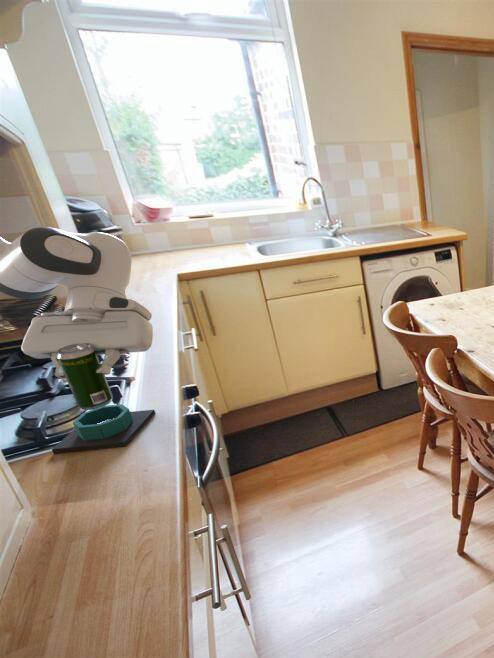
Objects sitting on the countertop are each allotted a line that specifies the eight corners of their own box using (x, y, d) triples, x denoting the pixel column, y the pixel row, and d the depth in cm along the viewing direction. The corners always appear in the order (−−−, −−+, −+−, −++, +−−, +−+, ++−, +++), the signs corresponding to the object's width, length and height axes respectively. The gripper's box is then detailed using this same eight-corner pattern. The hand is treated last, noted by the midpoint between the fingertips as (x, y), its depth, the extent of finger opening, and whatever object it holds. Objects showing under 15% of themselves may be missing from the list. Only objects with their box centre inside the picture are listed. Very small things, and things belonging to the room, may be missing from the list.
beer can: (120, 399, 93) (100, 344, 88) (90, 413, 88) (67, 356, 83) (102, 394, 94) (80, 340, 90) (71, 407, 90) (47, 351, 85)
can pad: (53, 453, 87) (45, 436, 86) (91, 419, 98) (84, 402, 96) (126, 446, 90) (119, 429, 88) (155, 413, 100) (150, 397, 99)
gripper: (21, 305, 88) (3, 375, 83) (143, 299, 92) (133, 365, 87) (46, 319, 94) (31, 385, 89) (160, 313, 98) (152, 375, 93)
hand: (82, 375), depth 88 cm, fingers closed on beer can, 5 cm apart
